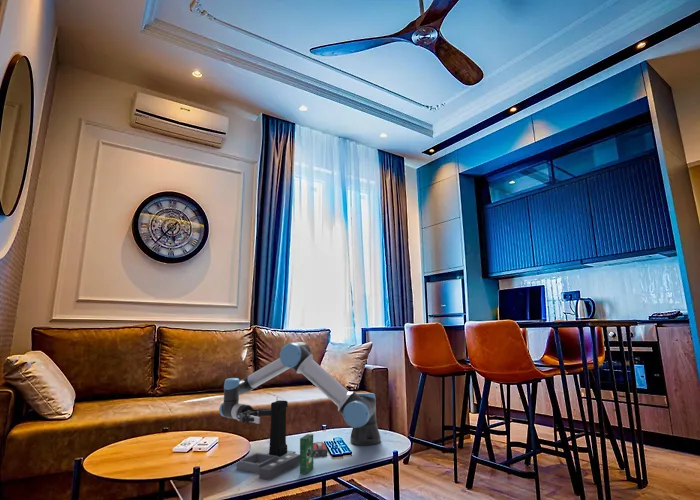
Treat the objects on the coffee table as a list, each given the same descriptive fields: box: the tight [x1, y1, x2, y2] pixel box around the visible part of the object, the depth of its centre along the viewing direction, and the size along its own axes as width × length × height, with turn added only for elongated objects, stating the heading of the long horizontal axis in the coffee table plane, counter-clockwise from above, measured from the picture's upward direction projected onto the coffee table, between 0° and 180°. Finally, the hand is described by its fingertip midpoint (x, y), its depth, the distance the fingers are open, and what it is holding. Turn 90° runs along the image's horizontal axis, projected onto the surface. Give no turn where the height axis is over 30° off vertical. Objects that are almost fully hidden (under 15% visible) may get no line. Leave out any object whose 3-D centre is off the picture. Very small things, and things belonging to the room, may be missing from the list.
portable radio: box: [268, 396, 289, 457], centre depth 178 cm, size 8×6×25 cm
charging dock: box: [236, 452, 300, 481], centre depth 160 cm, size 20×20×4 cm
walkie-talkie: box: [313, 441, 328, 458], centre depth 175 cm, size 9×4×20 cm
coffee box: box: [299, 433, 314, 475], centre depth 157 cm, size 8×3×13 cm, turn 162°
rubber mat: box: [267, 449, 296, 459], centre depth 175 cm, size 10×12×1 cm
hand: (270, 417), depth 181 cm, fingers open, 13 cm apart
